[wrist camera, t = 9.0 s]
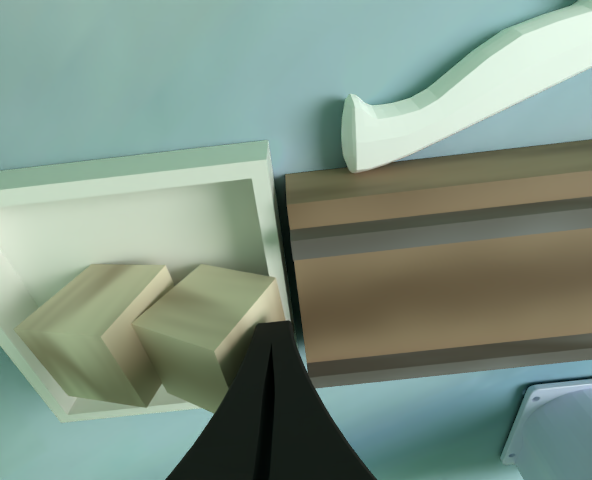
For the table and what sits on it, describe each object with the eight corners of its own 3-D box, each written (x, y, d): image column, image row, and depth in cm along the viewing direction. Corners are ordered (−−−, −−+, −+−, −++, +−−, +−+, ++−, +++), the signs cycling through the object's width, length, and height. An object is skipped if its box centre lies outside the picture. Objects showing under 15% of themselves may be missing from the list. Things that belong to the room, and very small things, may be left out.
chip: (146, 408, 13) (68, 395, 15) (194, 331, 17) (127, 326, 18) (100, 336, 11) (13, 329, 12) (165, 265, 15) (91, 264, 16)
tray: (299, 359, 20) (302, 397, 18) (83, 382, 20) (61, 422, 18) (268, 139, 14) (266, 159, 11) (-52, 176, 14) (-113, 202, 12)
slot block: (695, 299, 19) (780, 353, 16) (305, 340, 20) (311, 402, 16) (817, 113, 14) (980, 137, 11) (285, 174, 14) (287, 215, 11)
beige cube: (291, 347, 16) (242, 426, 13) (223, 328, 18) (167, 392, 15) (276, 277, 14) (214, 351, 11) (201, 263, 16) (131, 323, 13)
